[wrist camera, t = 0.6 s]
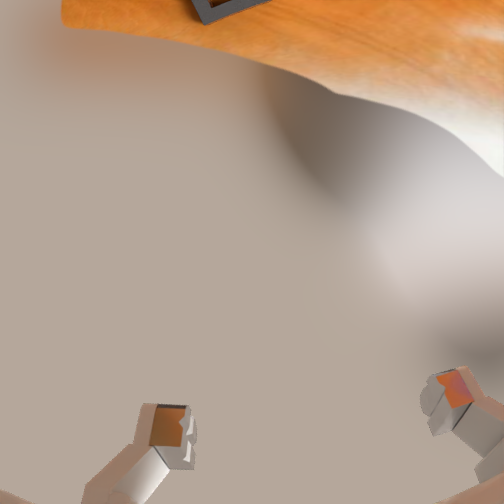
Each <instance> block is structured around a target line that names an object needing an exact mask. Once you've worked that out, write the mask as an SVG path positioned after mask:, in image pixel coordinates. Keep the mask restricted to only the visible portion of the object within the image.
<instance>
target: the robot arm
mask: <svg viewBox="0 0 504 504" xmlns="http://www.w3.org/2000/svg"><path fill="white" fill-rule="evenodd" d="M427 384H428V385H427V386H426V387H425V388H424V389H423V390H422V392H421V395H420V404H421V408H422V411H423V413H424V414H426V415H427V416H429V419H428V422H427V423H428V425H429V428H430V430H431V432H432V435H433V436H436V435H440V434H443V433H446V432H449V431H452V430H453V431H452V432H453V433H454V434H455V435H457V436H458V437H459V438H460V439H461V440H462V441H464V442H465V443H466V444H467V445H468V446H470V447H471V448H472V449H473V450H474V451H476V452H477V453H478V454H479V455H480V456H482V457H483V459H482V460H481V461H480V462H479V463H478V465H476V467H475V469H474V470H475V472H476V475H477V477H478V480H479V483H480V484H478V485H476V486H474V487H472V488H470V489H468V490H465V491H463V492H461V493H459V494H456V495H454V496H452V497H449V498H447V499H445V500H442V501H440V502H437V503H434V504H504V405H502V404H501V403H499V402H497V401H496V400H494V399H492V398H491V397H489V396H488V397H485V395H484V393H483V391H482V390H481V388H480V386H479V385H478V383H477V381H476V380H475V378H474V376H473V374H472V373H471V371H470V370H469V368H468V367H467V366H461V367H457V368H454V369H450V370H447V371H443V372H440V373H436V374H433V375H431V376H429V378H428V380H427ZM196 440H197V428H196V422H195V419H194V417H192V416H191V409H190V407H189V405H172V404H151V403H144V404H143V405H142V407H141V409H140V414H139V418H138V423H137V427H136V431H135V436H134V441H133V444H128V445H127V446H126V447H125V448H124V449H123V450H122V451H121V452H120V453H119V454H118V455H117V456H116V457H115V458H114V459H112V461H110V462H109V463H108V464H107V465H106V466H105V467H104V468H103V469H102V470H101V471H100V472H99V473H98V474H97V475H96V476H95V477H93V478H92V479H91V480H90V481H89V482H88V483H87V484H86V486H85V489H84V494H83V498H82V502H81V504H144V503H145V501H146V500H147V498H149V496H150V495H151V494H152V493H153V491H154V490H155V489H156V488H157V486H158V485H159V484H160V483H161V481H162V480H163V479H164V477H165V476H166V475H167V473H168V472H169V469H177V470H194V464H195V452H194V450H193V448H192V446H193V445H194V444H195V443H196ZM0 504H35V503H32V502H29V501H27V500H25V499H22V498H20V497H17V496H15V495H13V494H11V493H9V492H7V491H4V490H2V489H0Z"/></svg>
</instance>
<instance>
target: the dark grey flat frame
mask: <svg viewBox="0 0 504 504" xmlns="http://www.w3.org/2000/svg"><path fill="white" fill-rule="evenodd" d="M191 1H192V3H193V4H194V6H195V8H196V10H197V12H198V14H199V16H200V18H201V20H202V22H203V24H204V25H209V24H212V23H214V22H217V21H219V20H221V19H224V18H226V17H229V16H231V15H234V14H236V13H239V12H242V11H244V10H247V9H250V8H253V7H256V6H258V5H261V4H264V3H267V2H270V1H272V0H231V1H228V2H226V3H223V4H221V5H219V6H216V7H214V5H213V3H212V1H211V0H191Z"/></svg>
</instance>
